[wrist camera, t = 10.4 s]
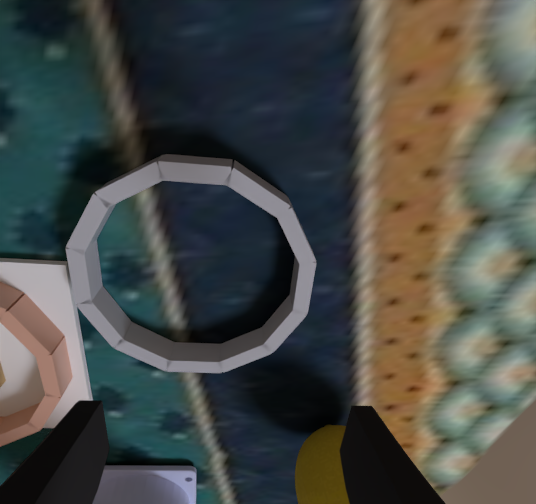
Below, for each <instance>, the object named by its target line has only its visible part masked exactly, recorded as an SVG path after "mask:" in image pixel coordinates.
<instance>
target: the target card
mask: <svg viewBox="0 0 536 504" xmlns="http://www.w3.org/2000/svg"><path fill="white" fill-rule="evenodd" d="M0 282H2V283H4V284H7V285H9V286H11V287H13V288H15V289H18V290H20V291H22V292H24V293H23V295H24V294H27V296H28V297H29V298H30V299H31V300H32V301H33V302H34V303H35V304H36V305H37V306H38V307H39V308H40V309H41V311H42V312H43V313H44V314H45V315H46V316H47V317H48V318H49V319H50V320H51V321H52V322H53V323H54V324H55V326H56V327H57V328H58V329H59V330H60V331H61V332H62V333H63V334H64V336H65V339H66V344H67V349H68V354H69V359H70V365H71V370H72V375H73V377H72V380H71V382H70V383H69V385H68V387H67V389H66V390H65V392H64V394H63V396H62V397H61V399H60V401H59V402H58V404H57V405H56V407H55V409H54V410H53V412H52V413H51V415H50V417H49V418H48V420H47V421H46V423H45V424H44V426H43V428H55V426H56V425H57V424H58V423H59V422H60V421H61V420H62V418H63V417H64V416H65V415H66V414H67V413H68V412H69V410H70V409H71V408H72V407H73V406H74V405H75V403H77V402H78V401H79V400H88V401H93V398H92V393H91V387H90V381H89V375H88V369H87V363H86V358H85V352H84V346H83V340H82V334H81V328H80V323H79V317H78V311H77V306H76V304H75V301H74V295H73V289H72V283H71V277H70V272H69V266H68V261H50V260H31V259H13V258H0ZM0 362H1V366H2V369H3V372H4V376H5V379H6V381H5V382H4V384H3V385H2V386H1V388H0V416H2V417H6V416H9V415H11V414H13V413H16V412H18V411H21V410H23V409H26V408H28V407H30V406H33V405H35V404H38V403H40V402H41V401H42V399H43V398H44V396H45V392H44V388H43V384H42V380H41V376H40V372H39V368H38V364H37V360H36V357H35V356H34V355H33V354H32V353H31V352H30V351H29V350H28V349H27V348H26V347H25V346H24V345H23V344H22V343H21V342H20V341H19V340H18V339H17V338H16V337H15V336H14V335H13V334H12V333H11V332H10V331H9V330H8V329H7V328H6V327H5V326H4V325H3V324H1V323H0Z"/></svg>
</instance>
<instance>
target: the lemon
mask: <svg viewBox="0 0 536 504" xmlns="http://www.w3.org/2000/svg"><path fill="white" fill-rule="evenodd" d="M345 429H346V426H341V425H326V426H324V427H323V428H320V429H318V430H316V431H315V432H313V433H312V434H311V435H310V436H309V437H308V438H307V439H306V441H305V442H304V444H303V445H302V447H301V449H300V451H299V454H298V458H297V462H296V468H295V487H296V494H297V499H298V504H350V503H349V499H348V495H347V492H346V487H345V482H344V476H343V470H342V464H341V458H340V451H339V450H340V447H341V443H342V439H343V436H344V432H345Z"/></svg>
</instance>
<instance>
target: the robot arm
mask: <svg viewBox="0 0 536 504" xmlns="http://www.w3.org/2000/svg"><path fill="white" fill-rule="evenodd" d="M339 451H340V458H341V464H342V470H343V476H344V482H345V487H346V492H347V495H348V499H349V503H350V504H445V502H444V501H443V500H442V499H441V498H440V496H439V495H438V494H437V493H436V491H435V490H434V489H433V488H432V486H431V485H430V484H429V483H428V481H427V480H426V479H425V478H424V476H423V475H422V474H421V472H420V471H419V470H418V468H417V467H416V466H415V465H414V463H413V462H412V461H411V459H410V458H409V457H408V455H407V454H406V453H405V451H404V450H403V449H402V447H401V446H400V444H399V443H398V442H397V440H396V439H395V438H394V436H393V435H392V433H391V432H390V431H389V429H388V428H387V426H386V425H385V424H384V422H383V421H382V419H381V418H380V417H379V415H378V414H377V412H376V411H375V409H374V408H373V407H372V406H352V407H351V410H350V414H349V418H348V421H347V425H346V429H345V432H344V436H343V439H342V443H341V447H340V450H339ZM108 452H109V443H108V436H107V430H106V424H105V417H104V411H103V404H102V401H88V400H79V401H78V402H77V403H75V405H74V406H73V407H72V408H71V409H70V410H69V412H68V413H67V414H66V415H65V416H64V417H63V418H62V420H61V421H60V422H59V423H58V424H57V425H56V426H55V428H54V429H53V430H52V431H51V432H50V433H49V434H48V435H47V437H46V438H45V439H44V440H43V441H42V442H41V443H40V444H39V445H38V447H37V448H36V449H35V450H34V451H33V452H32V453H31V454H30V455H29V456H28V457H27V458H26V459H25V461H24V462H23V463H22V464H21V465H20V466H19V467H18V468H17V469H16V470H15V471H14V472H13V473H12V474H11V475H10V477H9V478H8V479H7V480H6V481H5V482H4V483H3V484H2V485H1V486H0V504H196V468H195V467H193V466H142V465H105V463H106V459H107V456H108Z"/></svg>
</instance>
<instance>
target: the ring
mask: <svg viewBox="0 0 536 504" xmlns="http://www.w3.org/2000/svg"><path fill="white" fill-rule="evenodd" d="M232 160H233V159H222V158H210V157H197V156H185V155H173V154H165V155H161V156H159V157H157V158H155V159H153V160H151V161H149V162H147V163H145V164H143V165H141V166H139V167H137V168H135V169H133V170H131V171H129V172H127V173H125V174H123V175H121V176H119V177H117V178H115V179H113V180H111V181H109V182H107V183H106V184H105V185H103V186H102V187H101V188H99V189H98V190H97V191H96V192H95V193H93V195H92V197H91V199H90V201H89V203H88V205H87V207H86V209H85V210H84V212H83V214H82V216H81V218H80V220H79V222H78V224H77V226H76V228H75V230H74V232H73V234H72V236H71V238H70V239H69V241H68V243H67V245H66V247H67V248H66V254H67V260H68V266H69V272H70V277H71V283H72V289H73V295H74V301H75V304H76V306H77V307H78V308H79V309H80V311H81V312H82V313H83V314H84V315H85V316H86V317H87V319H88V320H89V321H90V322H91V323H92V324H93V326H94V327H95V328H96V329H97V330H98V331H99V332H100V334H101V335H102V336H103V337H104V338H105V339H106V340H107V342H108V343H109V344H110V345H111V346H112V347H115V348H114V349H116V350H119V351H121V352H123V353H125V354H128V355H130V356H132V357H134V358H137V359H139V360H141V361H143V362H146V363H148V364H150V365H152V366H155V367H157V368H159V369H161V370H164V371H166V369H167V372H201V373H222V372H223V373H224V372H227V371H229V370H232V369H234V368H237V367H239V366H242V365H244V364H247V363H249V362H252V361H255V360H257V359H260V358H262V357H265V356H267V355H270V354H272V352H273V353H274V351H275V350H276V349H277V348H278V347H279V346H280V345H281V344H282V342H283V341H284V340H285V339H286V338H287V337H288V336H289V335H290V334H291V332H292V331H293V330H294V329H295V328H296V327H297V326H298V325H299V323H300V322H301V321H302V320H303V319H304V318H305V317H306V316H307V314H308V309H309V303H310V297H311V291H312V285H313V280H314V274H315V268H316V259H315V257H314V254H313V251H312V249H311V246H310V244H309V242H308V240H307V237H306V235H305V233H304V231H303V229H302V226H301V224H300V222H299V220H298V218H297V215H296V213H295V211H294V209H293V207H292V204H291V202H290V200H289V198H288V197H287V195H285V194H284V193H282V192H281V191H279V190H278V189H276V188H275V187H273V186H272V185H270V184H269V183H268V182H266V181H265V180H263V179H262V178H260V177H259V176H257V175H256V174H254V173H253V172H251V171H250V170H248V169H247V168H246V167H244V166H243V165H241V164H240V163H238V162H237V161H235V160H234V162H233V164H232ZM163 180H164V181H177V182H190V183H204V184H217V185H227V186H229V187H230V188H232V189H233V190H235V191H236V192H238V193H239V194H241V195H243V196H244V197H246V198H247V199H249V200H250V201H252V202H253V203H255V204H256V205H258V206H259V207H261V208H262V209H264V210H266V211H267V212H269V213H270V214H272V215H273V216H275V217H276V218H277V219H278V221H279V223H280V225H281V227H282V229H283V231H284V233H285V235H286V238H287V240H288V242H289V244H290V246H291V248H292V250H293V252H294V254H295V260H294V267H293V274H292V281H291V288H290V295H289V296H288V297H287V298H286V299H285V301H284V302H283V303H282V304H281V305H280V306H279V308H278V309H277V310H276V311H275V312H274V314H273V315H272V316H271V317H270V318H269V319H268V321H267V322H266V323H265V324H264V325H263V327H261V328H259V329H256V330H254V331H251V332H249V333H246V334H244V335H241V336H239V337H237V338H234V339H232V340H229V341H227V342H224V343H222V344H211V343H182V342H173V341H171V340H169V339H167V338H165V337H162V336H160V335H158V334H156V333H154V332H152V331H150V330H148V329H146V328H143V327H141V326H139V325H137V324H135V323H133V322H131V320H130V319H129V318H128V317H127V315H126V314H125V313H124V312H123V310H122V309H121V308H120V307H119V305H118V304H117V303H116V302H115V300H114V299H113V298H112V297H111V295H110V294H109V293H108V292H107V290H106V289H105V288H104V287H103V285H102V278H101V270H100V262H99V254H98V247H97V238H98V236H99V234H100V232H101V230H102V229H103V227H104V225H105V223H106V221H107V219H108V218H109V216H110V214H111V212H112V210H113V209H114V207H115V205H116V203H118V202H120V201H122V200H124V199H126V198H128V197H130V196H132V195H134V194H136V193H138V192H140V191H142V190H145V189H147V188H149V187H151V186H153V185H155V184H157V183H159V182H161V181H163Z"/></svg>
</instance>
